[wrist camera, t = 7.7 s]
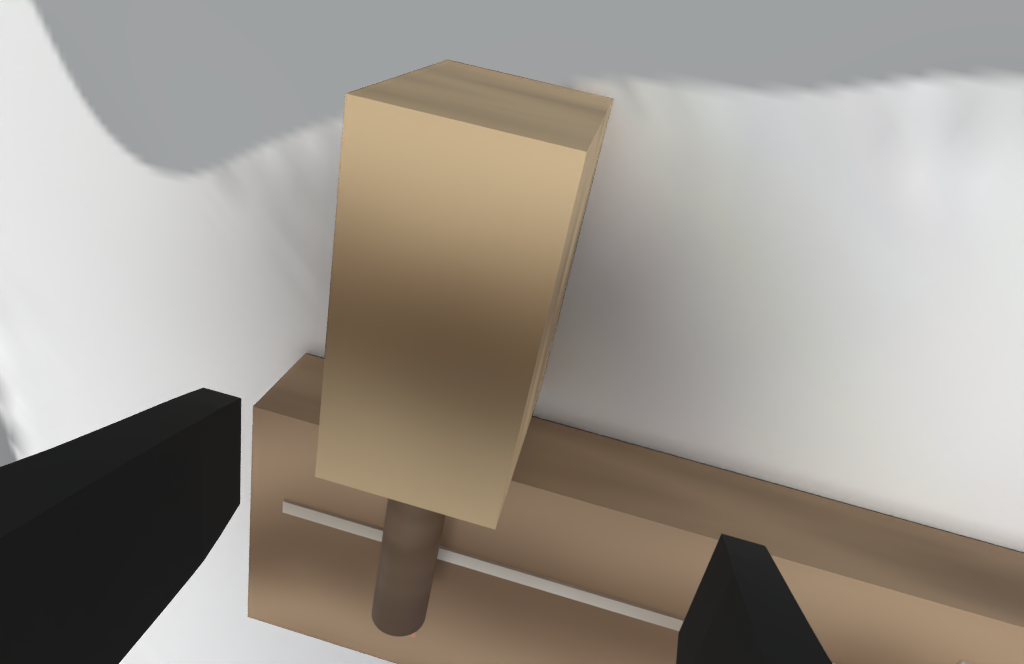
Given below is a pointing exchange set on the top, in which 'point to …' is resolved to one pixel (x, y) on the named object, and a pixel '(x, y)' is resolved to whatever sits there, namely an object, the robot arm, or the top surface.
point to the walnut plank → (608, 557)
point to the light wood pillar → (446, 298)
